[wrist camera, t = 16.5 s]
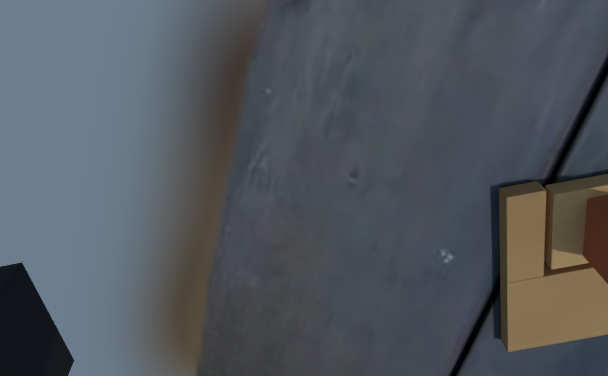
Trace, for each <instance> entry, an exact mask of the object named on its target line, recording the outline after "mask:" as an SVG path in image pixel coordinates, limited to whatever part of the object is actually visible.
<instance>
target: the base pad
mask: <svg viewBox="0 0 608 376" xmlns="http://www.w3.org/2000/svg"><path fill="white" fill-rule="evenodd" d="M545 215H546V190H545V189H544V187H543V186H542V185H541V184H540V183H539V182H538V181H534V182H529V183H523V184H518V185H513V186H508V187H502V188H499V229H500V298H501V340H502V342H503V344H504V346H505V348H506V350H507V352H512V351H517V350H523V349H528V348H534V347H540V346H545V345H551V344H556V343H562V342H568V341H573V340H579V339H584V338H590V337H596V336H601V335H607V334H608V284H607V283H606V282H605V280H604V279H603V278H602V277H601V276H600V275H599V274H598V272H597V271H596V270H595V269H594V268H593V267H592V266H591V264H590V263H586V264H580V265H574V266H569V267H563V268H558V269H550V267H549V266H548V265H547V263H545V264H544V247H545Z"/></svg>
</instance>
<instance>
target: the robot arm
mask: <svg viewBox="0 0 608 376" xmlns="http://www.w3.org/2000/svg"><path fill="white" fill-rule="evenodd" d="M73 362H74V360H73V358H72V356H71V354H70V352H69V350H68V348H67V346H66V345H65V343H64V341H63V339H62V337H61V335H60V333H59V331H58V329H57V327H56V326H55V324H54V322H53V320H52V318H51V316H50V314H49V312H48V311H47V309H46V307H45V305H44V303H43V301H42V299H41V298H40V296H39V294H38V292H37V290H36V288H35V286H34V284H33V282H32V281H31V279H30V277H29V275H28V273H27V271H26V270H25V267H24V266H23V264H22V263H17V264H12V265H8V266H2V267H0V376H68V374H69V372H70V369H71V367H72V364H73Z"/></svg>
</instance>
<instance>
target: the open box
mask: <svg viewBox="0 0 608 376" xmlns="http://www.w3.org/2000/svg"><path fill="white" fill-rule="evenodd" d="M545 190H546V215H545V247H544V261H545V262H546V263H547V265H548V266H549V267H550V269H558V268H563V267H569V266H574V265H580V264H586V263H590V264H591V266H592V267H593V268H594V269H595V270H596V271H597V272H598V274H599V275H600V276H601V277H602V278H603V279H604V280H605V282H606V283H607V284H608V174H603V175H598V176H592V177H587V178H581V179H576V180H571V181H565V182H560V183H554V184H549V185H545Z"/></svg>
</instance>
